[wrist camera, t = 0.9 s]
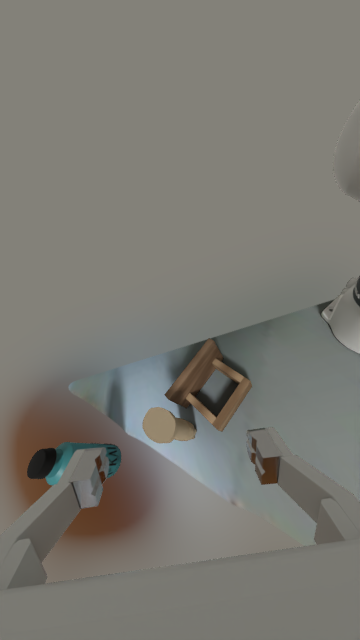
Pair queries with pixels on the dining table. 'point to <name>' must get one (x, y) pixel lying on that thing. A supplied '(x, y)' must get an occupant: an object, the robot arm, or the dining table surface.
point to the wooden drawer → (198, 376)
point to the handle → (166, 426)
